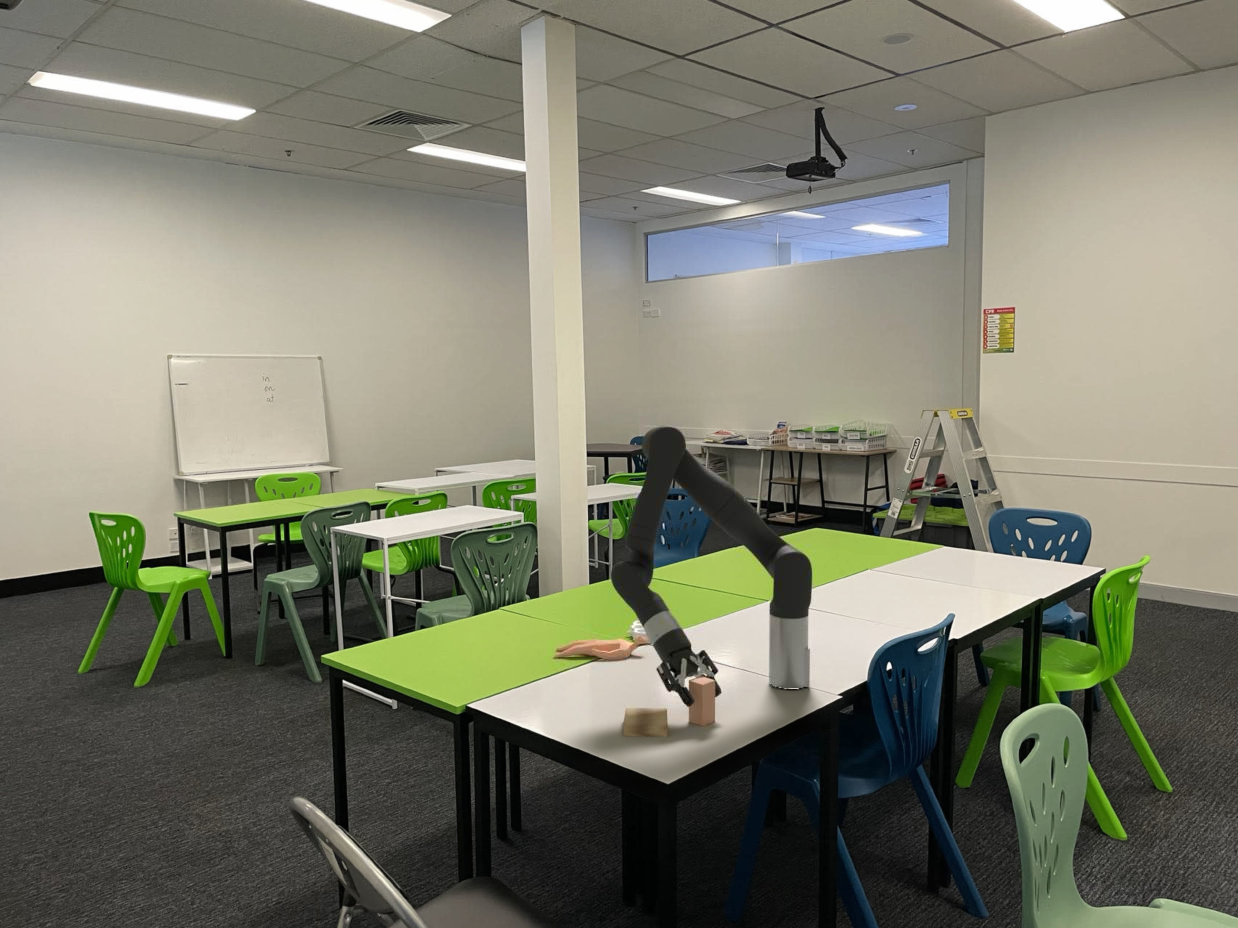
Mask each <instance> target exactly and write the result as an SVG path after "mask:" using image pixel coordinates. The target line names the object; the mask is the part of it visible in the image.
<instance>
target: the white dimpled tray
mask: <svg viewBox="0 0 1238 928" xmlns="http://www.w3.org/2000/svg"><path fill="white" fill-rule="evenodd" d="M629 628H630V629H629V630H628V631H626V632H625V633H626V634H628V635H630V636H632V637H633V638H632V637H631V638H632V639H633V640H634V638H636V637H638V638H639V636H640V637H644V638H646V643H645V644H650V643H649V642H650V640H649V638H648V636H647V634H646V632H645V630H644V627H643V626H642V624H641V623H640V621H639V619H638V620H635V621H634V622H632V625H629ZM634 641H635V640H634ZM634 641H633V642H634Z"/></svg>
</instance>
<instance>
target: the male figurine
mask: <svg viewBox="0 0 1238 928" xmlns="http://www.w3.org/2000/svg"><path fill="white" fill-rule="evenodd" d="M634 640H635V642H634V641H632V642H631V641H628V640H625V639H623V638H615V639H599V638H588V639H584V640H582V639H581V640H579V639H577V640H574V641H572V642H570V643H566V644H565V645H563V646H557V647H556V649H555V650H556V652H558V653H555V654H553V655H554V659H559V657H560V658H563V657H564V658H565V657H571V656H576V655H587V656H590V657H598V658H601V659H603V660H604V659H605V660H610V661H614V660H623V659H626V658H628V657H629V656H630V655H632V653H633V651H635V650H637V649H638V645H645V644H647V643H646V638H644V637H640V636H639V638H638V637H636V638H634Z"/></svg>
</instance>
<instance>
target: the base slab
mask: <svg viewBox="0 0 1238 928" xmlns="http://www.w3.org/2000/svg"><path fill="white" fill-rule="evenodd" d="M624 709H625V710H624V718H623V737H660V738H661V737H665V738H667V737H668V708H662V707H661V708H659V707H653V708H652V707H650V708H649V707H625V708H624Z"/></svg>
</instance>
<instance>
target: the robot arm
mask: <svg viewBox="0 0 1238 928" xmlns="http://www.w3.org/2000/svg"><path fill="white" fill-rule="evenodd" d="M686 443H687V442H686V438H685V436H684V434H683V432H682V431H681V430H680V429H679V428H677V427H676V426H672V425H660V426H656V427H653V428H652V429H650V430H648V431H647V432H646V433H645V435H644V436H643V438H642V442H641V449H642V452H643V454H644V457H645V458H646V459H647V466H646V472H645V477H644V480H643V483H642V487H641V490H640V492H639V494H638V496H637V500H636V502H635V504H634V507H633V510H632V513H631V516H630V520H629V524H628V527H627V530H626V535H625V539H624V546H625V547H626V549H628V550H629V560H623V561H622V560H621V561H619V562H617V563H615V564H614V565H613V566H612V568H611V571H610V580H611V584H612V586H613V588H614V590H615V591H616V593H617V594H618V595H619V597H621V599H622V600H623V601H624V602H625V603H626V605H627V606H628V607H629V608H630V609H631V610H632V612H633V613H634V614H635V615H636V618H637V619H638V620H639V621H640V623H641V624H642V626H643V627H644V630H645V632H646V634H647V636H648V638H649V640H650V642H651V643H650V644H651V645H652V647H653V649H654V650H655V651H656V654H657V655H658V657H659V659H660V660H661V663H660V664H659V665H658V666H657V668H656V669H655V670H656V672H657V674H658V675H659V678H660V679H661V682H662V683H663V685H664V687H665V689H666V691H667V692H669V693H671V692H675V693H677V695H678V697H680V699H681V701H682V703H683V704H684V705H685V706H686V707H687V708H689V706H691V705H692V704H693V703H694V702H695V701H694V699H693V697H692V695H691V694H690V692H689V688H688V687H687V686H686V683H685V682H686V681H685V680H686V679H688V678H692V677H694V678H697V677H700V676H703V677H706V678H709V679H712V680H715V698H718V697H719V696H720V695H721V694H722V689H721V686H720V685H719V684H718V681H717V680H716V678H715V675H717V674H718V673H719V669H718V668H717V666H716V664H714V662H713V660H712V659H711V658H710V656H709V655H708V653H707V651H706V650H705V649H702V650H700V651H699V652H698V653H695V652H694V651H693V650H692V643H691V641H690V639H689V638H688V636H687V634H686V633H685V632H684V630H683V628H682V627H681V624H680V622H678V620H677V618H676V617H675V615H673V613H672V612H671V611H670V609H669V608H668V606H667V604H666V602H665V601H664V599H663V598H662V596H661V595H660V594H659V593H658V592H655V591H654V590H652V589H651V588H650V585H651V584H652V583H651V582H652V580H653V577H654V567H655V566H654V565H655V545H656V541H657V537H658V533H659V530H660V526H661V521H662V518H663V513H664V509H665V506H666V502H667V498H668V496H669V495H668V494H669V491H670V489H671V485H672V483H673V481H674V482H675V483H677V484H678V486H679V487H680V488H681V489H683V491H684V492H685V493H686V495H688V497H690V499H691V500H692V501H693V502H694V503H695V504H696V505H697V506H698V507H699V508H700V510H702V511H703V513H704V514H705V515H706V516H707V517H709V519H711V521H713V523H714V524H715V525H716V526H718V527H719V528H720V529H721V530H723V532H725V533H726V534H727V535H729V536H730V537H731V538H733V540H735V541H737V543H740V544H741V545H742V546H743V547H745V548H746V549H747V550H748V551H749V552H750V553H751V555H753V556H754V557H755V558H756V560H757V561H758V562H759V563H760V564H761V565H762V567H763V568H764V569H765V570H766V572H767V573H768V575H769V576H770V577H771V578H772V580H773V586H772V587H773V589H772V599H771V601H770V602H769V615H768V616H769V621H768V622H769V628H768V630H769V634H768V635H769V636H768V638H769V639H768V641H769V644H768V646H769V648H768V652H769V653H768V683H769V682H770V683H771V684H772V685H774V686H776V687H781V688H802V689H804V688H803V687H810V685H811V684H810V680H811V679H810V677H811V676H810V673H811V671H810V670H811V667H810V666H811V661H810V660H811V649H810V647H809V609H810V606H811V604H812V591H813V587H812V586H813V566H812V563H811V560H810V558H809V557H808V556H807V555H806V554H805V553H803V551H801V550H799V549H797V548H796V547H794V546H793V545H791V544H789V543H788V542H787V541H786V540H784V539H783V538H782V537H781V536H779V535H778V534H777V533H775V532H774V531H773V530H772V529H771V528H770V527H769V526H768V524H766V522H764V520H763V518H762V517H761V516H760V514H759V513H758V511H757V510H756V509H755V507H754V506H753V505H752V504H751V503H750V502H749V500H748V499H747V498H746V497H745V496H744V495H743V494H742V493H741V492H740V491H738V489H737V488H735V487H734V486H733V485H732V484H731V483H729V481H727V480H726V479H724V478H723V477H721V476H720V475H718V474H717V473H716V472H714V471H712V470H711V469H709V468H707V467H706V466H705V465H703V464H702V463H701V462H699V461H698V459H696V458H695V457H694V456H693V454H692V453H691V452H690V451H689V450H688V449H687V446H686V445H687V444H686ZM772 685H771V686H772ZM776 687H775V688H776ZM810 688H811V687H810Z"/></svg>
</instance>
